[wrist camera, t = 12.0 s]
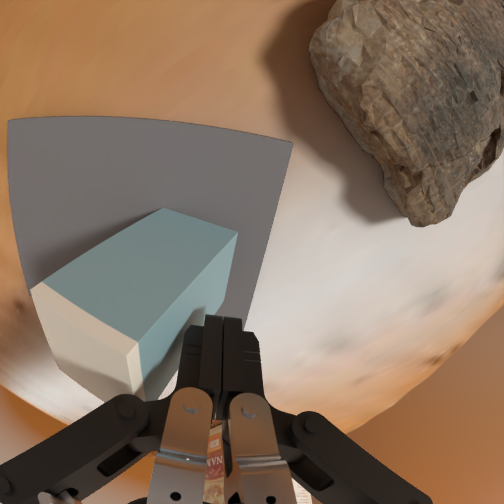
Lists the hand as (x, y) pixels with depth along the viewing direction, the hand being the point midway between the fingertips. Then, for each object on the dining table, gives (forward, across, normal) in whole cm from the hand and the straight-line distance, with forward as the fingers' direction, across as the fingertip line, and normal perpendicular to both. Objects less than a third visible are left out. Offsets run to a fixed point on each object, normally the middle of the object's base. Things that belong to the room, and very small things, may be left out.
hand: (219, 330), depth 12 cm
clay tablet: (+7, -12, -16) cm, 21 cm away
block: (+5, +2, 0) cm, 6 cm away
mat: (+7, +7, 0) cm, 9 cm away
